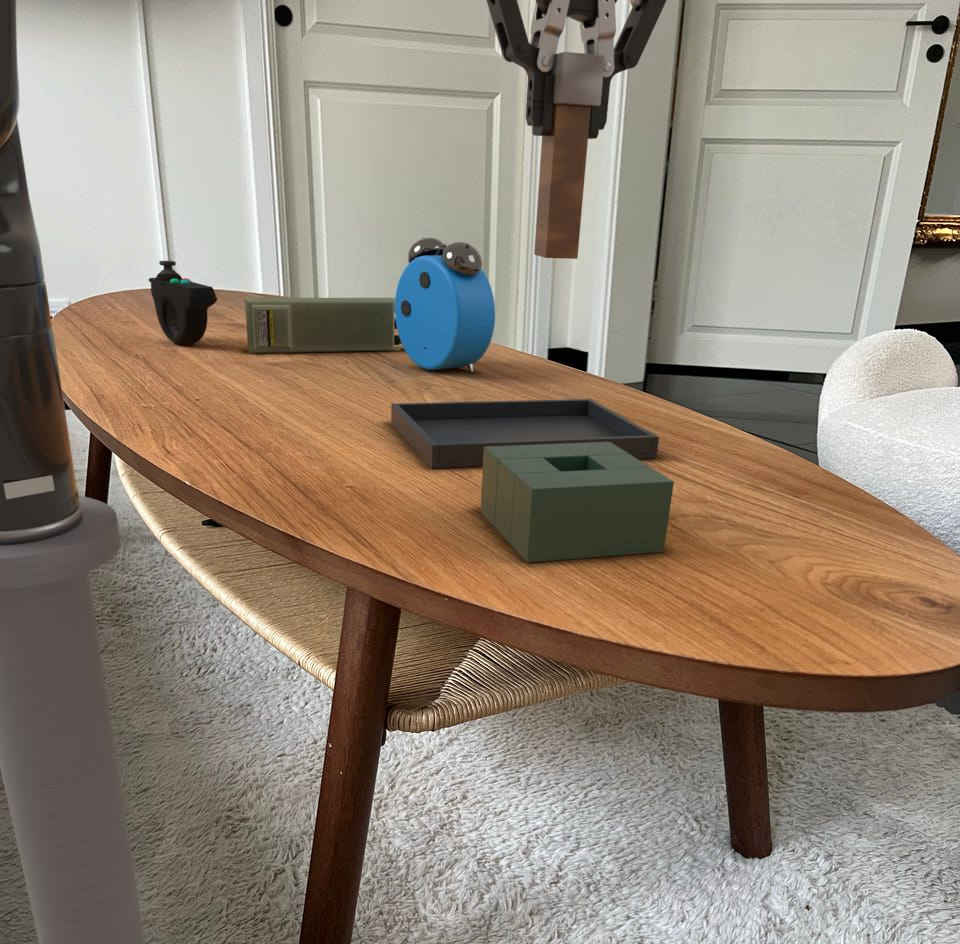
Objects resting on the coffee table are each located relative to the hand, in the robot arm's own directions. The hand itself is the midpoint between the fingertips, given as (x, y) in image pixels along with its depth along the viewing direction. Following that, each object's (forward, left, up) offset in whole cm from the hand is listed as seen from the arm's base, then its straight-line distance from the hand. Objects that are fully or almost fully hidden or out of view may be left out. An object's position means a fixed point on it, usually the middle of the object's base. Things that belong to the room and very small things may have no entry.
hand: (564, 135), depth 67 cm
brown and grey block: (0, 0, -8) cm, 8 cm away
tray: (+2, +10, -25) cm, 27 cm away
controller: (-26, +62, -25) cm, 72 cm away
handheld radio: (-6, +57, -25) cm, 63 cm away
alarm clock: (+4, +44, -25) cm, 51 cm away
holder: (-3, -14, -25) cm, 29 cm away
